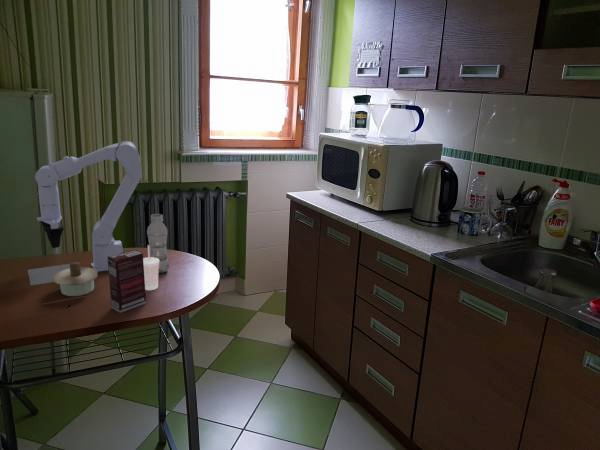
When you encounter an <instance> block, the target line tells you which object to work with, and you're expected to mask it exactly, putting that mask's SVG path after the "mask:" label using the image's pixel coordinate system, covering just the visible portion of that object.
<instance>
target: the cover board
mask: <svg viewBox="0 0 600 450" xmlns="http://www.w3.org/2000/svg"><path fill="white" fill-rule="evenodd" d="M69 264H70V268H69V269H65V270H62V271H60V272H58V273H56V274H55V275H54V282H53V283H55V284H57V285H79V284H84V283H87V282H90V281H92V280H94V281H95V280H96V279H97V278H98V272H97V271H96V270H95V269H93V267H85V266H81V262H80V261H73V262H70V263H69Z"/></svg>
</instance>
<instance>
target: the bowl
mask: <svg viewBox="0 0 600 450" xmlns="http://www.w3.org/2000/svg"><path fill="white" fill-rule="evenodd" d="M59 285H60V284H59ZM59 288H60V292H61V294H62V295H64V296H67V297H77V298H79V297H81V296H85V295H88V294H90V293H91V292H92V291H94V289H95V279H94V280H92V281H90V282H87V283H84V284H79V285H60V287H59Z"/></svg>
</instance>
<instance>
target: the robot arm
mask: <svg viewBox="0 0 600 450" xmlns="http://www.w3.org/2000/svg"><path fill="white" fill-rule="evenodd" d="M106 160H109V161H112V162H116V161H118V162H119V163H120V164H121V165H122V166H123V168H124V171H125V173H126V174H125V175H124V177H123V179H122V181H121V183H120V185H119V186H118V189H117V191H116V192H115V194H114V196H113V198H112V200H111V201H110V203H109V205H108V206H107V208H106V210H105V212H104V213H103V215H102V217H101V218H100V219H99V220H98V221H96V222H95V224H93V228H92V229H93V231H92V233H91V244H92V247H91V248H92V257H93V262H91V263H90V265H91V268H93V269H95V270H96V271H97V273H98V272H104V271H109V270H108V258H107V257H108V256H112V255H115V254H119V253H123V252H124V249H123V244H122V241H121V240H115V238H114V236H113V233H114V230H115V227H116V225H117V223H118V221H119V219H120V217H121V215H122V213H123V212H124V210H125V208H126V206H127V204H128V202H129V201H130V198H131V197H132V195H133V193H134V191H135V189H136V188H137V186H138V184H139V182H140V180H141V179H142V177H143V171H142V164H141V162H142V161H141V158H140V152H139V150H138V149H137V146H136V145H135V144H134V142H132V141H128V140H123V141H121V142H120V143H113V144H110V145H107V146H104V147H102V148H99V149H96V150H95V151H93V152H90V153H87V154H86V155H83V156H80V157H76V156H68V155H65V156H64V157H63V159H61V160H58V161H55V162H51V161H50V162H49V163H48V164H47V165H43V166H41V167H40V168H39V169H37V171H36V172H35V175H34V178H35V181H36V183H37V188H38V190H37V191H38V201H39V202H38V203H39V208H40V216H39V217H37V218H36V219H37V221H38V222H40V223H41V224H42V226H43V230H44V232H45V233H46V236H47V239H48V241H49V244H50V247H51V248H52V249H56V248H60V245H61V237H62V235H63V232H64V229H65V226H62V225H60V226H59V224H60V222H61V221H62V219H63V216H62V212H61V204H60V203H61V202H60V193H59V192H60V191H59V187H58V181H63V180H65V179H68V178H71V177H73V176H76V175H79V174H81V172H82V170H83V168H86V167H88V166H91V165H94V164H97V163H100V162H102V161H106Z"/></svg>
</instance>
